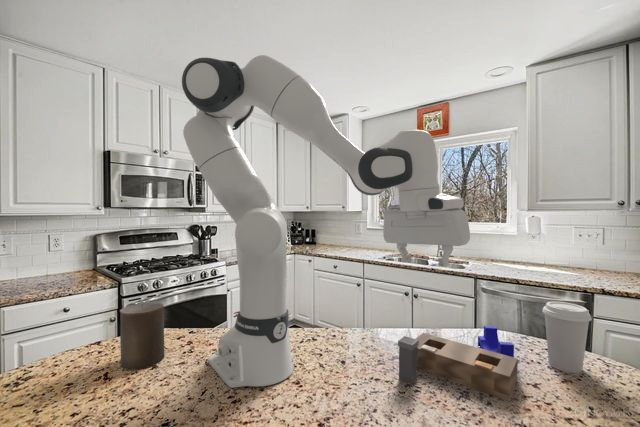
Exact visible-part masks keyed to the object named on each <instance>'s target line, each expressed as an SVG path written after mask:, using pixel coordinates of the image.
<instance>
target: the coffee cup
mask: <svg viewBox="0 0 640 427" xmlns="http://www.w3.org/2000/svg"><path fill="white" fill-rule="evenodd" d="M542 313H543V314H544V320H545V321H544V323H545V333H546V345H547V356H548V357H547V358H548V364H549V365H550V366H551V367H552V368H554V369H556V370H559V371H561V372H565V373H570V374H581V373H582V372H583V366H584V360H585V352H586V345H587V339H588V331H589V324H590V322H591V321H592V320H593V319H592V315H591V314H590V313H589V310H588V309H587V308H586V307H584V306H582V305H578V304H576V303H569V302H567V301H566V302H565V301H547V302H546V303H545V305H544V306H543V308H542Z"/></svg>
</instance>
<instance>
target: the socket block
mask: <svg viewBox="0 0 640 427" xmlns="http://www.w3.org/2000/svg"><path fill="white" fill-rule="evenodd" d="M415 339H417V340H419V345H418V346H417V370H420V371H423V372H426V373H429V374H432V375H435V376H436V377H437V376H438V377H441V378H443V379H446V380H449V381H452V382H454V383H457V384H459V385H460V384H461V385H462V386H466V387H468V388H470V389H473V390H477V391H480V392H483V393H486V394H488V395H491V396H495V397H497V398H499V399H503V400H505V401H508V402H510V400H511V398H512V395H513V393H514V390H515V388H516V385H517V382H518V362H519V361H518V360H519V359H518V358H517V357H515V356H514V357H510V356H507V355H503V354H499V353H496V352H492V351H488V350H485V349H481V348H479V347H478V346H473V345H471V344H467V343H463V342H458V341H455V340H451V339H448V338H444V337H440V336H437V335H434V334H433V335H432V334H429V333H425V332H422V333H420V335H418V336H417V337H416V338H415Z"/></svg>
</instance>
